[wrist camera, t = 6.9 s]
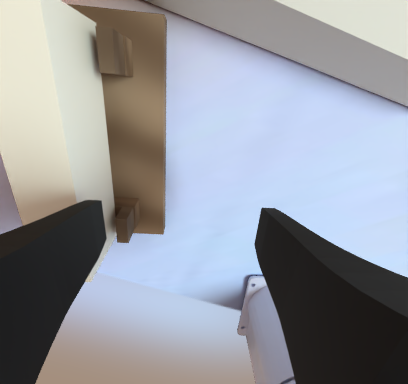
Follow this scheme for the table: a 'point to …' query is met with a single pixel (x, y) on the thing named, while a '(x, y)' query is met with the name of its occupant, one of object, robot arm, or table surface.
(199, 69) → the table surface
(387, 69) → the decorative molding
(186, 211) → the table surface
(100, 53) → the walnut rack
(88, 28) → the cream rectangular block
